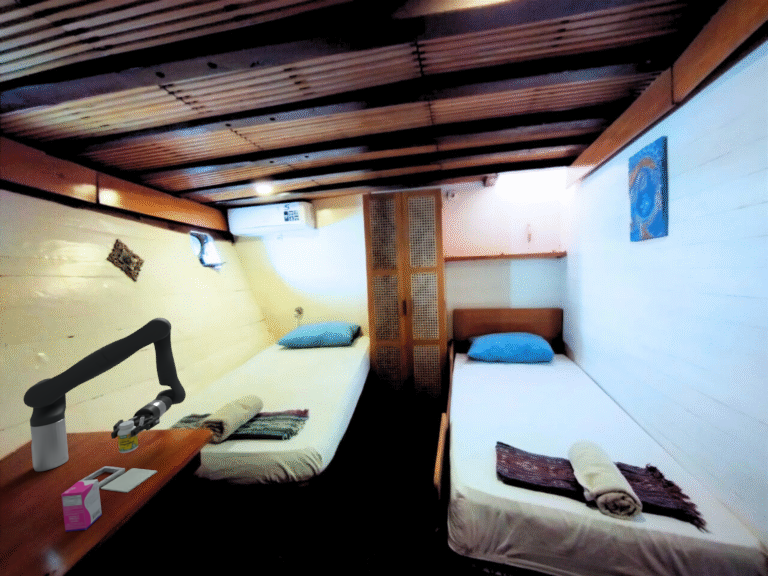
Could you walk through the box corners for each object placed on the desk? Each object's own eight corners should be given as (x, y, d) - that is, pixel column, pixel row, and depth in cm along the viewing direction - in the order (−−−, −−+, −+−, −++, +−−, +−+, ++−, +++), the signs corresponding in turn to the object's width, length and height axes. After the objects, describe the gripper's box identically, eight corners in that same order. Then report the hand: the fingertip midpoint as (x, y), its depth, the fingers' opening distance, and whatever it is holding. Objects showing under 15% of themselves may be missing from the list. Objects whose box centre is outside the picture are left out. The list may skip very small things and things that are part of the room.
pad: (101, 489, 107) (101, 487, 107) (132, 469, 118) (132, 468, 118) (127, 492, 105) (127, 491, 105) (157, 471, 116) (157, 470, 116)
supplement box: (81, 516, 95) (78, 480, 94) (102, 514, 95) (99, 478, 95) (63, 532, 89) (60, 493, 89) (86, 530, 90) (83, 491, 89)
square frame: (78, 485, 109) (77, 481, 109) (105, 469, 118) (105, 465, 118) (98, 488, 107) (98, 484, 107) (125, 472, 116) (124, 468, 116)
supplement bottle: (139, 443, 115) (137, 417, 114) (137, 450, 111) (135, 423, 110) (120, 448, 112) (117, 422, 111) (117, 455, 108) (115, 428, 107)
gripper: (129, 405, 124) (98, 426, 107) (169, 402, 126) (144, 422, 109) (131, 424, 124) (99, 448, 107) (170, 420, 126) (146, 443, 110)
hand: (122, 435), depth 108 cm, fingers closed on supplement bottle, 5 cm apart
